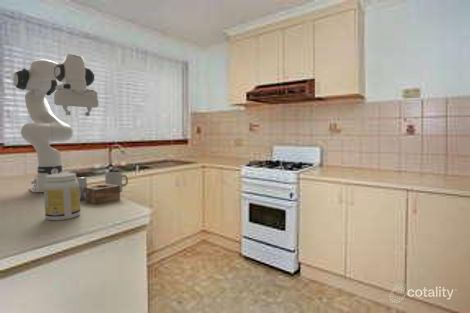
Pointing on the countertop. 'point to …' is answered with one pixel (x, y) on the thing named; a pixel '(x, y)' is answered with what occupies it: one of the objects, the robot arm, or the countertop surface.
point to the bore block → (102, 193)
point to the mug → (115, 179)
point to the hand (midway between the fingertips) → (78, 115)
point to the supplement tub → (61, 196)
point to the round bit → (82, 187)
